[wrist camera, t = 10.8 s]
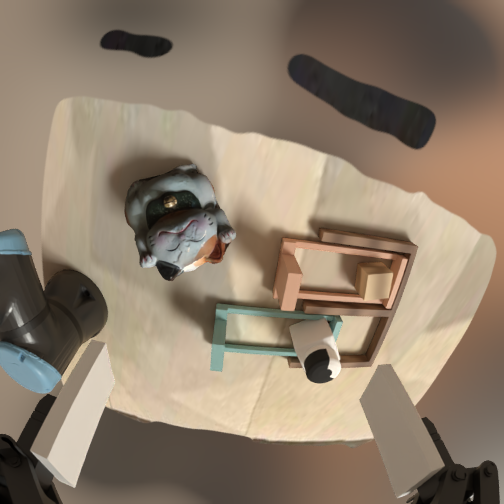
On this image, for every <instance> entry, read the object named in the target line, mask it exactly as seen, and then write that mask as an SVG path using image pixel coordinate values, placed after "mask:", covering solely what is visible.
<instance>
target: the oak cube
mask: <svg viewBox="0 0 504 504" xmlns="http://www.w3.org/2000/svg"><path fill="white" fill-rule="evenodd" d="M392 277H393V272H392V271H391V270H390V269H389V268H388V267H387V266H386V265H385V264H384V263H382V262H368V263H358V265H357V273H356V281H355V289H356V290H357V292H358V293H359V294H360V296H361V297H362V299H363V300H364V301H368V300H377V299H385V298H389V293H390V288H391V283H392Z"/></svg>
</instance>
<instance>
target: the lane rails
mask: <svg viewBox="0 0 504 504" xmlns="http://www.w3.org/2000/svg"><path fill="white" fill-rule="evenodd" d="M318 237H319V238H320V239H321V241H324V242H332V243H339V244H347V245H354V246H361V247H369V248H376V249H383V250H390V251H397V252H404V253H403V256H404V257H406V258H407V259H408V260H407V264H406V267H405V270H404V273H403V276H402V279H401V282H400V285H399V288H398V290H397V293H396V296H395V299H394V301H393V304H392V307H391V308H385V307H384V305H383V304H375V303H355V302H339V301H324V300H310V299H304V300H303V304H302V307H303V310H304V313H307V314H324V315H345V316H374V317H381V320H380V322H379V325H378V327H377V329H376V332H375V334H374V337H373V339H372V341H371V344H370V346H369V348H368V350H367V353H366V355H339V356H340V360H339V361H340V364H341V368H353V367H371V366H372V364H373V362H374V360H375V358H376V356H377V354H378V352H379V350H380V347H381V345H382V343H383V341H384V339H385V336H386V334H387V332H388V329H389V327H390V325H391V322H392V320H393V318H394V315H395V313H396V310H397V308H398V305H399V302H400V300H401V297H402V294H403V292H404V289H405V286H406V283H407V280H408V277H409V274H410V271H411V268H412V265H413V262H414V259H415V256H416V252H417V249H418V246H416V245H415V244H413V243H412V242H407V241H402V240H396V239H390V238H384V237H377V236H371V235H365V234H358V233H352V232H345V231H338V230H332V229H325V228H320V229H319V234H318ZM288 364H289V368H302V365H301V363H300V361H299V358H298V356H288Z"/></svg>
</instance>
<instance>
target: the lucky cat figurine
mask: <svg viewBox="0 0 504 504" xmlns="http://www.w3.org/2000/svg"><path fill="white" fill-rule="evenodd" d="M196 167H197V166H196V165H194V164H190V165H181V166H178V167H176V168H175V169H173V170H172V171H170V172H168V173H165V174H163V175H159V176H155V177H151V178H146V179H140V180H138V181H136V182H134V183H133V184H132V185H131V187H130V188H129V190H128V193H127V197H126V203H125V217H126V221H127V223H128V225H129V226H130V227H131V228H132V229H133V230H134V232H135V241H136V245H137V248H138V252H139V255H140V265H141V267H142V268H143V267H147V268H149V267H154V266H157V269H158V271H159V273H160V274H161V276H162V277H163V278H164V279H165V280H168V281H173V280H174V278H175V277H177V276H179V275H180V274H181V273H183V272H188V271H193V270H195V269H196V268H197V267H199V266H200V265H202V264H204V263H205V262H210V263H212V264H215V263H219V262H221V261H222V260H223V255H224V254H225V251H226V249H227V247H228V246H229V244H230V243H231V241H232V240H233V239H234V238H235V237H236V232H235V230H234V229H233V228H232V227H231V225H230V223H229V221H228V219H227V217H226V215H225V213H224V211H223V210H222V209H220V207H219V205H218V203H217V200H216V197H215V191H214V187H213V185H212V184H211V182H210V181H209V179H208V178H207V176H204V175H201V174H198V172H197V170H196Z"/></svg>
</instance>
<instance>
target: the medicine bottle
mask: <svg viewBox="0 0 504 504" xmlns="http://www.w3.org/2000/svg"><path fill="white" fill-rule="evenodd" d="M289 329H290V333H291V337H292V341H293V345H294V349H295V352H296V354H297V356H298V358H299V361H300V363H301V365H302V368H303V370H304V372H305V373H306V375H307V378H308V379H309V380H310V381H311V382H314V383H326V382H329V381H331V380H332V379H334V378H335V377H336V376H337V375H338V374H339V372H340V370H341V364H340V361H339V360H340V356H339V352H338V349H337V346H336V342H335V339H334V336H333V333H332V331H331V329H330V326H329V324H328V322H327V320H326V318H322V319H319V320H310V319H307V320H304V321H301V322H299V323H296V324H293V325H291V326H289Z"/></svg>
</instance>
